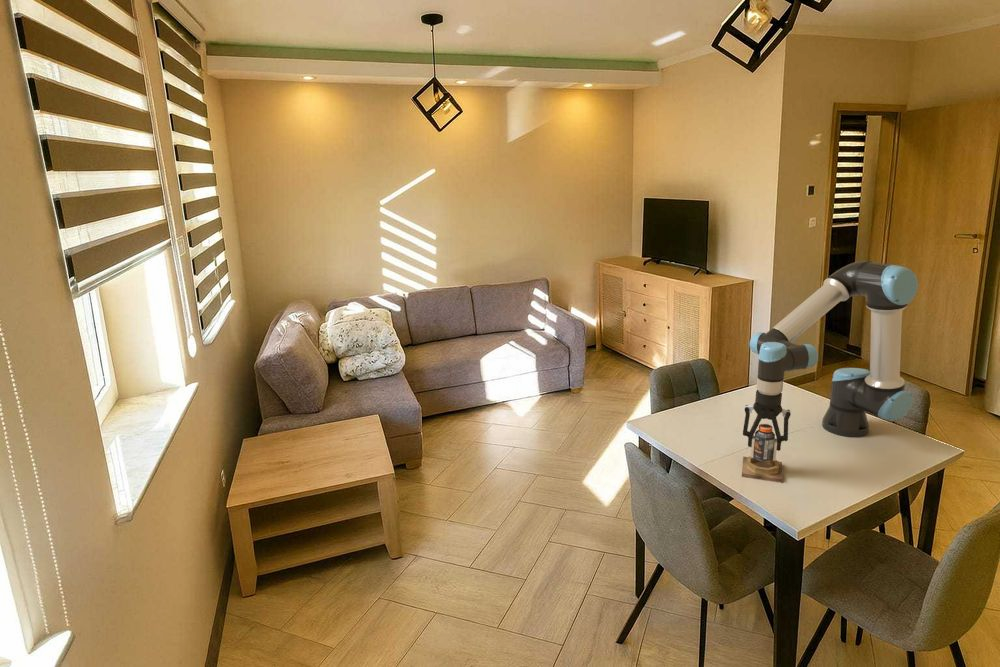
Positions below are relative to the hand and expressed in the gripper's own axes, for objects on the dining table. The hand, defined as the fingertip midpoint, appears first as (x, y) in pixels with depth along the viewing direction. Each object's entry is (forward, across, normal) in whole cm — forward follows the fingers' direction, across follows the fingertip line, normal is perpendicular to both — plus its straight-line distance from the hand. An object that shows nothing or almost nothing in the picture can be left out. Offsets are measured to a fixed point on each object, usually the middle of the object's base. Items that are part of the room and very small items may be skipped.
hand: (763, 456), depth 198 cm
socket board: (+5, 0, 0) cm, 5 cm away
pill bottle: (0, 0, 0) cm, 0 cm away
